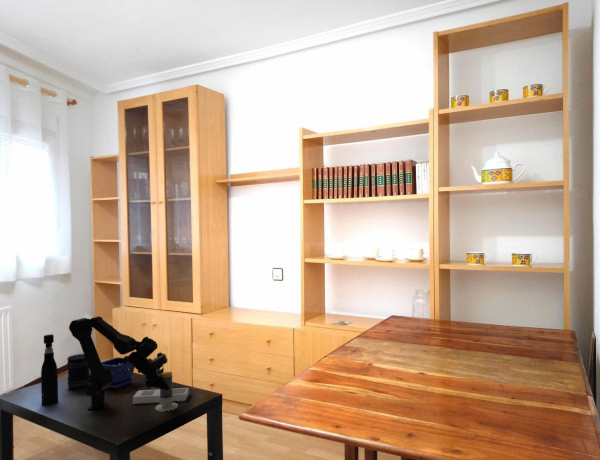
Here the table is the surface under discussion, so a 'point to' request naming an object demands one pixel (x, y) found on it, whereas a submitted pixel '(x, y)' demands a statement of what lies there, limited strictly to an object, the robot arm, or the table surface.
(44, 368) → the wine bottle
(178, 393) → the power strip
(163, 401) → the plug
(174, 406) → the rubber mat
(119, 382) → the flower pot
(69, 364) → the storage jar
